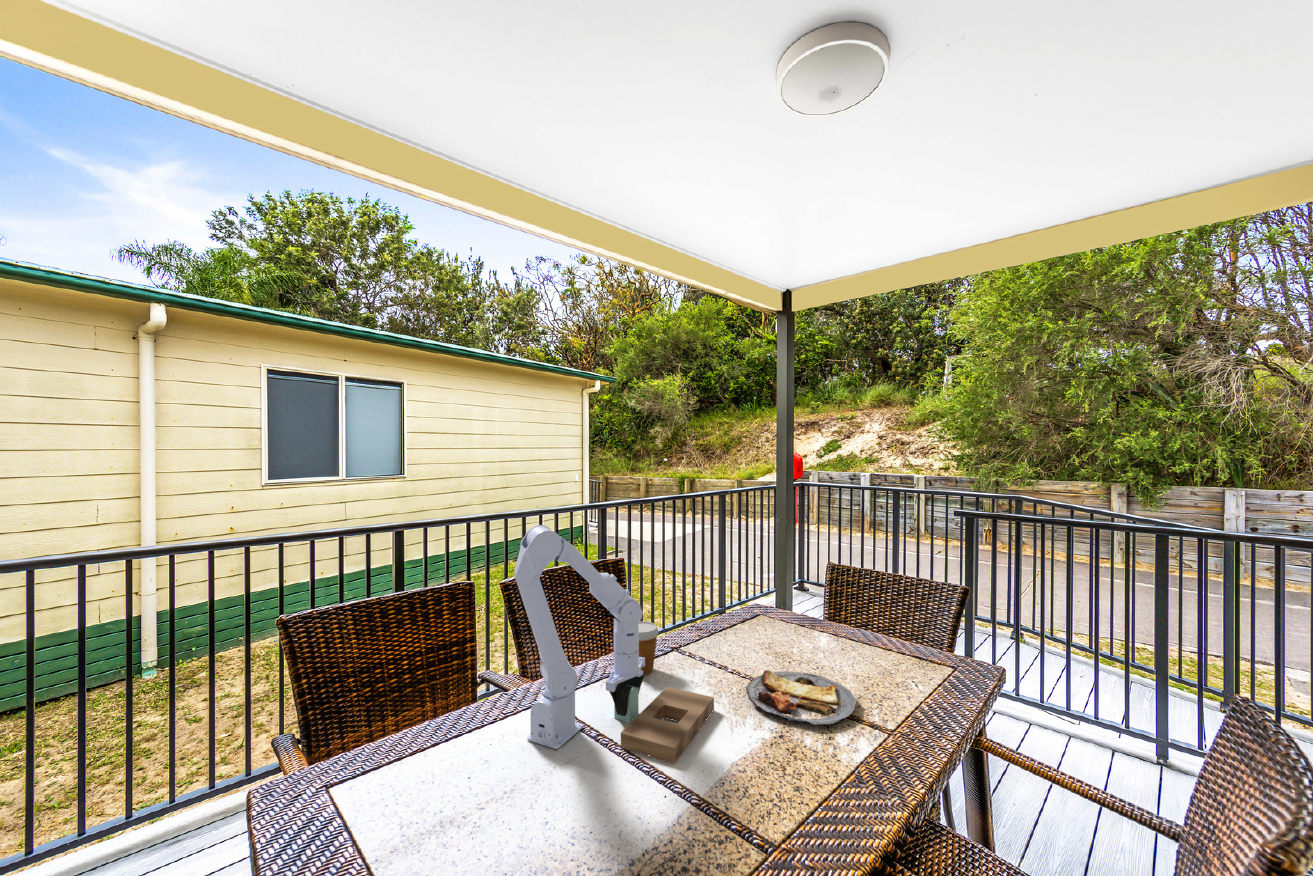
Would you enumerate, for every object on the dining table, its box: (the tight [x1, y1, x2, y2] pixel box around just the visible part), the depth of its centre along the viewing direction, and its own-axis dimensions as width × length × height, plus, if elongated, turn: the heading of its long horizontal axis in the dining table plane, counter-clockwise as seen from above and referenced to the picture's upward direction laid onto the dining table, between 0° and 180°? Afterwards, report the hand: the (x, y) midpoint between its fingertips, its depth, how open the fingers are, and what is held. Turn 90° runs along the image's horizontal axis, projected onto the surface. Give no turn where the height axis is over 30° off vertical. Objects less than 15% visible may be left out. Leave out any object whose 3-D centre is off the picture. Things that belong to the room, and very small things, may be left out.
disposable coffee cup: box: [638, 621, 659, 676], centre depth 137 cm, size 10×10×12 cm
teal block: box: [613, 685, 640, 723], centre depth 114 cm, size 4×4×6 cm
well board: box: [620, 686, 715, 765], centre depth 109 cm, size 22×12×3 cm, turn 153°
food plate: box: [745, 669, 857, 726], centre depth 120 cm, size 25×23×4 cm
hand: (626, 709), depth 114 cm, fingers closed on teal block, 4 cm apart
